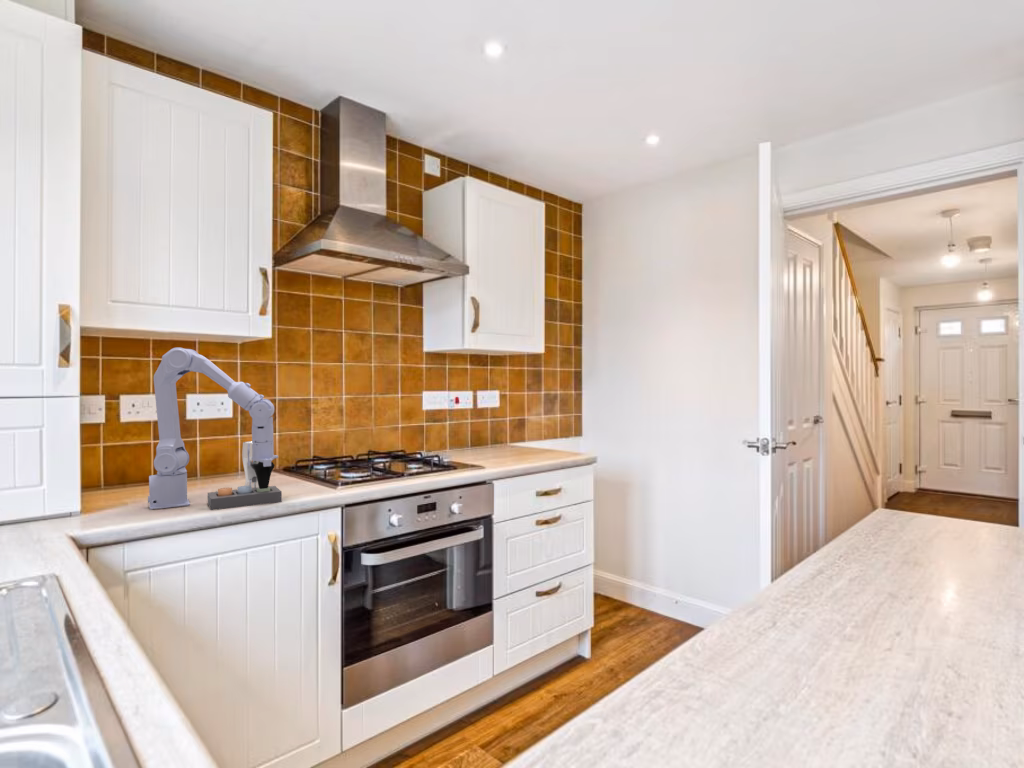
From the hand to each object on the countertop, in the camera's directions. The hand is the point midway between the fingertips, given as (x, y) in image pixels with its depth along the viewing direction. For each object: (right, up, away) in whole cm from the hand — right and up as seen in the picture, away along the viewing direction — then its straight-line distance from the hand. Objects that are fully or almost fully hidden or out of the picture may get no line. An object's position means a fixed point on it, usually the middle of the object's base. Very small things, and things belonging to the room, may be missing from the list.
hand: (263, 488), depth 168 cm
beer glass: (-10, -4, +17) cm, 20 cm away
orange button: (-9, -2, -5) cm, 10 cm away
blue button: (-4, -2, -3) cm, 5 cm away
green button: (0, -3, 0) cm, 3 cm away
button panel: (-4, -4, -3) cm, 6 cm away
